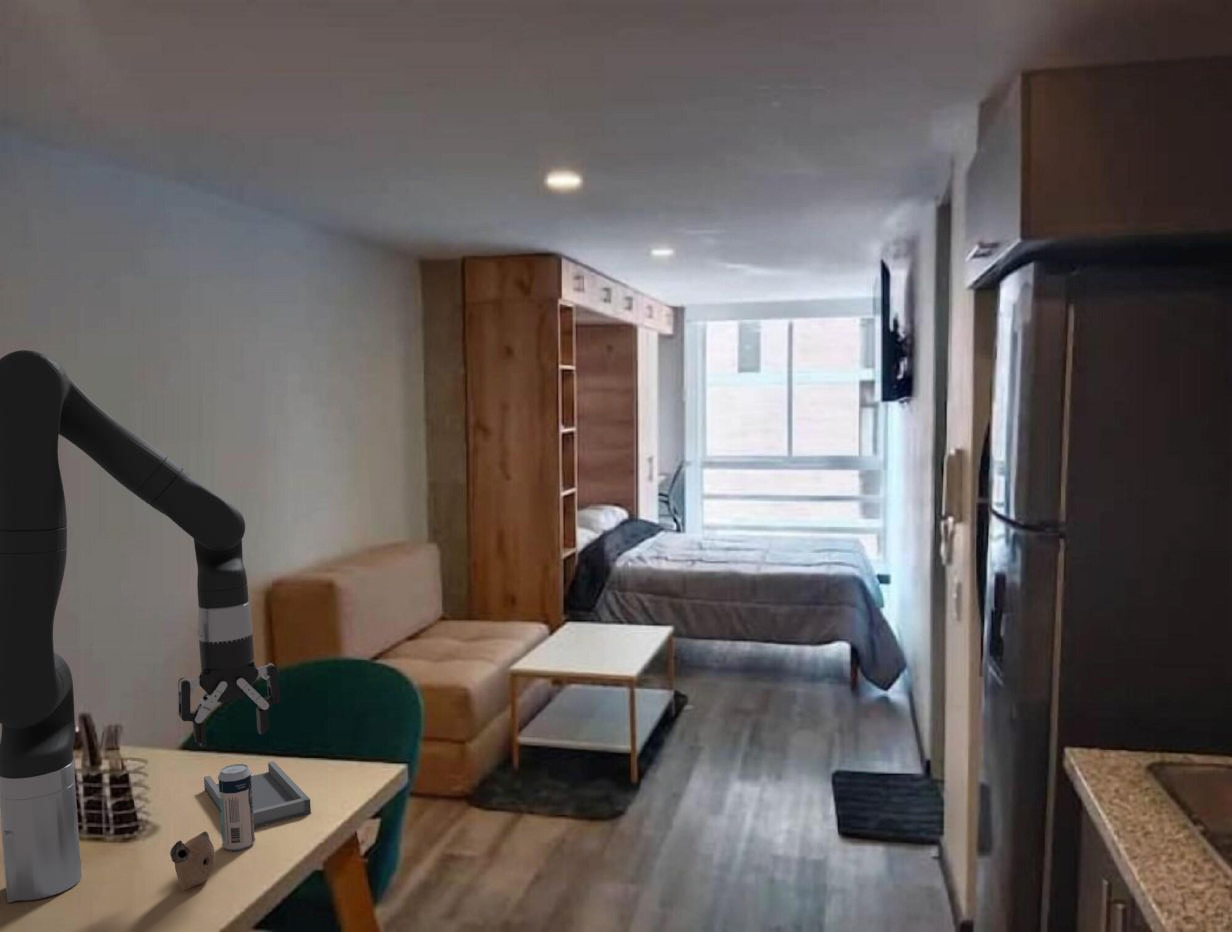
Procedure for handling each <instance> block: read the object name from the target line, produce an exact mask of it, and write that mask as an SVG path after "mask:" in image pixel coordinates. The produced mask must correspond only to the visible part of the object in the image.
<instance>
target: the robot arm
mask: <svg viewBox="0 0 1232 932" xmlns="http://www.w3.org/2000/svg"><path fill="white" fill-rule="evenodd" d="M59 436H61V437H62V438H64V439H66V440H67V441H68V442H70V443H71V444H73V445H75V447H77V448H78V449H79V450H81V451H82V452H84V453H85V454H86V455H87V456H88V457H90V459H92V460H93V461H94V462H95V463H96V464H98V466H100V467H101V468H102V469H103V470H104V471H105V472H107V473H108V474H109V475H110V476H111V477H112V478H113V479H115V480H116V482H118V483H120V484H121V485H122V486H123V487H125V489H127V490H128V491H130V492H131V493H132V494H134V496H136V497H138V498H139V499H140V500H142V501H143V502H145V503H146V504H147V505H149V506H151V507H152V508H153V509H154V510H156V511H158V512H159V513H161V514H163V515H164V516H166V517H168V518H169V519H170V520H171V521H172V522H173V523H175V524H176V526H178V527H179V528H180V529H181V530H183V531H184V532H185V533H186V534H188V535H189V536H190V537H191V538H193V544H194V550H195V551H194V553H195V561H196V565H197V577H196V579H197V580H196V581H197V584H196V585H197V586H196V587H197V603H198V616H197V627H198V628H197V635H198V644H199V658H200V674H199V676H198V677H196V678H189V679H188V678H186V677H180V678H179V680H178V685H177V686H178V689H177V690H178V692H177V693H178V695H177V696H178V699H177V700H178V716H179V718H180V719H181V720H182V721H183V722H192V729H193V731H192V732H193V739H194V742H196V744H197V745H199V746H200V747H201V748H204V747H207V746H208V745H207V732H206V731H207V730H206V721H204V720H205V718H206V717H207V715H208V713H210V711H211V710H213V708H214V706H215V705H216V703H221V704H224V703H228V702H230V701H231V700H233V701H238V700H240V701H241V700H243V698H244V697H246V696H248V697H249V698H250V699H251V700H252V701H253V702H254V703H255V704H256V705H257V707H256V708H255V714H256V728H257V729H256V730H257V733H258V734H259V735H265V734H266V730H269V728H270V718H269V717H270V716H269V709H270V707H272V706H273V705H274V704H280V702H281V698H282V697H281V690H280V684H279V674H278V668H277V666H276V665H274V664H273V663H271V662H267V663H266V664H265V665H261V666H259V667H257V666H256V664H255V652H254V651H255V650H254V638H253V637H254V636H253V621H252V620H253V619H252V612H251V609H250V602H249V588H248V586H249V585H248V577H247V572H246V568H245V566H244V565H245V564H244V562H243V561H244V560H243V540H242V539H243V538H244V535H245V532H246V521H245V518H244V516H243V514H242V513H241V512H240V511H239V509H238V508H236V507H235V506H234V505H233V504H231V503H230V502H227V501H226V500H225V499H223V498H221V496H219V495H217V494H216V493H214V492H213V491H211V489H209V488H208V487H206V486H204V485H203V484H201V483H200V482H199V481H198V480H197V479H196V478H195V477H194V476H193V475H192V474H191V473H190V472H189V471H187V470H186V469H185V468H183V466H181V465H180V464H179V463H178V462H176V461H175V460H173V459H172V458H171V457H169V456H168V455H167V454H165V453H164V452H163V451H161V450H160V449H158V448H157V447H156V446H154V445H153V444H151V443H150V442H149V441H147V440H146V439H144V438H143V437H141V436H140V435H138V434H136V433H135V432H134V431H132V430H131V429H130V428H128V427H126V426H125V425H124V424H122V423H121V422H119V421H118V420H116V419H115V418H114V417H112V416H111V415H110V414H108V413H107V412H106V411H105V410H104V409H102V408H101V406H99V405H98V404H97V403H95V401H93V400H92V399H91V398H90V397H89V396H87V394H86V393H85V392H84V391H83V390H82V389H81V388H80V387H79V385H77V384H76V383H75V381H74V380H72V378H71V377H70V376H68V374H67V372H66V371H65V369H64V368H63V366H62V365H61V364H60V363H59V362H58V361H57V360H55V359H54V358H53V357H50V356H48V355H47V354H45V353H42V352H39V351H34V350H29V349H22V350H15V351H13V352H9V353H7V354H5V355H4V356H2V357H1V358H0V724H1V736H0V828H1V829H0V831H1V841H2V842H1V843H2V855H3V856H2V857H3V868H4V881H5V883H4V884H5V892H6V902H7V903H13V902H17V901H33V900H39V899H40V900H41V899H46V898H47V897H53V896H54V895H57V894H60V893H63V892H65V891H67V890H69V889H70V888H72V887H74V886H75V885H77V883H78V882H80V880H81V878H82V859H81V851H80V850H81V847H80V846H81V845H80V836H79V835H80V834H79V822H78V821H79V819H78V808H77V807H78V805H77V794H76V789H77V788H76V779H75V775H76V774H75V762H74V761H75V760H74V742H75V735H76V721H75V719H76V718H75V699H74V695H75V694H74V682H73V675H72V672H71V669H70V667H69V665H68V663H67V662H66V660H65V659H64V658H63V657H62V656H61V655H59V654H58V653H56V652H55V650H54V649H55V648H54V623H55V614H56V609H57V605H58V601H59V597H60V593H61V590H62V585H63V581H64V575H65V570H66V563H67V554H68V552H67V551H68V550H67V549H68V541H67V540H68V527H67V526H68V518H67V505H66V499H65V498H66V497H65V491H64V485H63V480H62V474H61V470H60V469H61V468H60V464H59V463H60V462H59V438H60V437H59ZM259 675H261V677H262V679H263V680H265V681H266V686H267V696H265V697H262V695H261V694H260V693H259V692H257V690H256V689H254V687H253V685H254V683H255V682H256V680H257V678H258V677H259ZM198 686H199V687H201V688H202V689H203V691H205V692H204V693H203V694H202V696H201V698H200V699H199V701H198V704H197V705H196V708H195V709H194V710H191V695H192V694H194V693H195V691H196V689H197V687H198Z"/></svg>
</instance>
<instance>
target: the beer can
mask: <svg viewBox="0 0 1232 932" xmlns="http://www.w3.org/2000/svg"><path fill="white" fill-rule="evenodd" d="M251 776H252V771H251V769H250V768H249V766H248V764H244V763H237V764H236V763H235V764H231V765H226V766H225V767H223V768H221V769H220V772H219V774H218V776H217V779H218V784H219V794H220V810H221V813H220V823H221V824H220V826H221V838H222V839H221V840H222V844H221V847H222V848H223V849H225V850H228V851H233V852H234V851H235V852H237V851H242V850H245V849H247V848H249V847H250V846H252V845H253V844H254V843H255V841H256V835H255V828H254V819H253V802H252V784H251Z"/></svg>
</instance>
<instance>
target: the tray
mask: <svg viewBox="0 0 1232 932" xmlns="http://www.w3.org/2000/svg"><path fill="white" fill-rule="evenodd" d="M267 768H268V771H267V772H262V773H258V774H254V775H251V784H252V802H253V819H254V829H257V828H261V827H265V826H267V825H271V824H275V823H279V822H283V821H287V820H291V819H294V818H298V817H302V816H306V815H311V814H312V812H311V811H312V808H311V807H312V806H311V798H310V797H309V796H308V795H307V794H306V793H305V791H304V790H302V789H301V788H300V787H299V786H298V785H297V783H295V782H294V781H293V780H292V779H291V778H290V776H288V774H287V773H286V772H285V771H284V770H283V769H282V768H281V767H280V766H279V765H278V764H277V763H276V762H275V761H274V760H272V761H267ZM203 785H204V791H205V793H206V795H207V796H208V797H209V798H210V800H211V802H212V803H213V804H214V806H215V807H216V809H217V810H218V812H219V813H220V814H221V810H220V794H219V783H216V782H215V780H214V778H212V776H211V775H205V776H203Z"/></svg>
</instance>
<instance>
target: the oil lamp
mask: <svg viewBox="0 0 1232 932" xmlns="http://www.w3.org/2000/svg"><path fill="white" fill-rule="evenodd" d="M215 853H216V852H215V847H214V845H213V843H212V841H211V839H210V836H209V833H208V832H207V831H203V832H201V833H199V834H197V835H196V836H194V837H193V838H191V839H189V840H187V841H186V842H185V843H183V842H182V840H178V841H177V842H175V844H174V845H173V846H172V847H171V849H170V853H169V855H170V858H171V861H172V862H173V863H174V869H175V873H176V877H177V879H178V883H179V886H180V887H181V889H182V890H184V891H185V890H188V889H190V888H193V887H196V886H199V885H200V884H203V883H204V882H205V881H207V879H208V878H209V876H211V874H212V872H213V871H212V870H213V869H214V865H215V861H216V854H215Z"/></svg>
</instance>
